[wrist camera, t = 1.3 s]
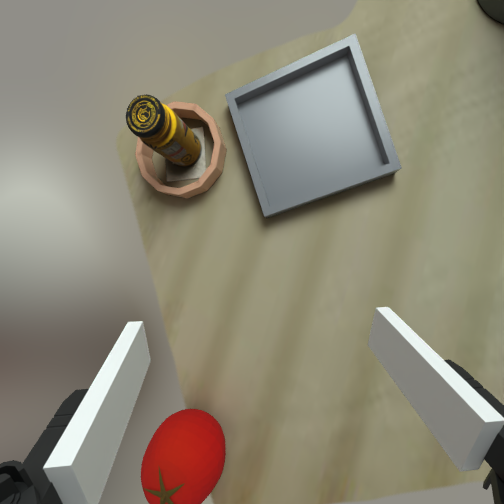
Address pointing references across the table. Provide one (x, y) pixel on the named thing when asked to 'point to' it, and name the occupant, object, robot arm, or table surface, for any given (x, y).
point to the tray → (313, 129)
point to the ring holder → (211, 172)
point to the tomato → (183, 459)
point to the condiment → (168, 137)
